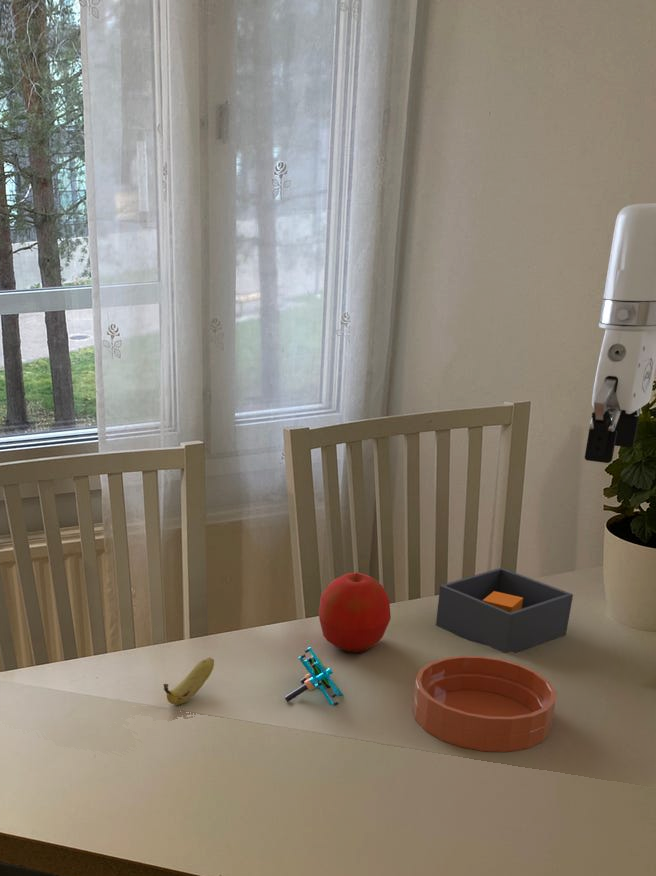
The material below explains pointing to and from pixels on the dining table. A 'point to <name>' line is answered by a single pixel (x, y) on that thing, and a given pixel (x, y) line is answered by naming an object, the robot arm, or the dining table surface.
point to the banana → (190, 683)
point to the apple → (354, 612)
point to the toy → (504, 601)
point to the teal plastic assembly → (315, 678)
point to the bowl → (484, 703)
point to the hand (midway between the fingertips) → (609, 453)
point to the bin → (503, 611)
